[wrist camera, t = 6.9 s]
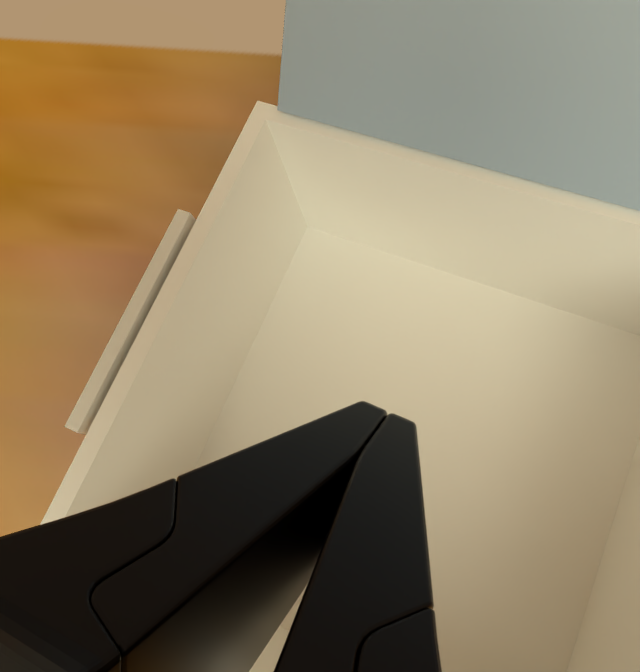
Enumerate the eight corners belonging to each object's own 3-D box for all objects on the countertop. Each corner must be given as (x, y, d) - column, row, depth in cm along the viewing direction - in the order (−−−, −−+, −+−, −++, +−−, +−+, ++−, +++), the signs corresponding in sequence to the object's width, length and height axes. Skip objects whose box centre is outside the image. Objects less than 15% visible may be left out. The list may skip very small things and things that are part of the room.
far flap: (1039, -156, 9) (1023, -153, 10) (305, -236, 12) (315, -232, 13) (772, 247, 13) (768, 238, 14) (277, 110, 17) (285, 105, 17)
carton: (563, 818, 17) (654, 1011, 10) (115, 576, 21) (-28, 602, 14) (702, 347, 20) (842, 261, 13) (288, 213, 24) (237, 95, 17)
